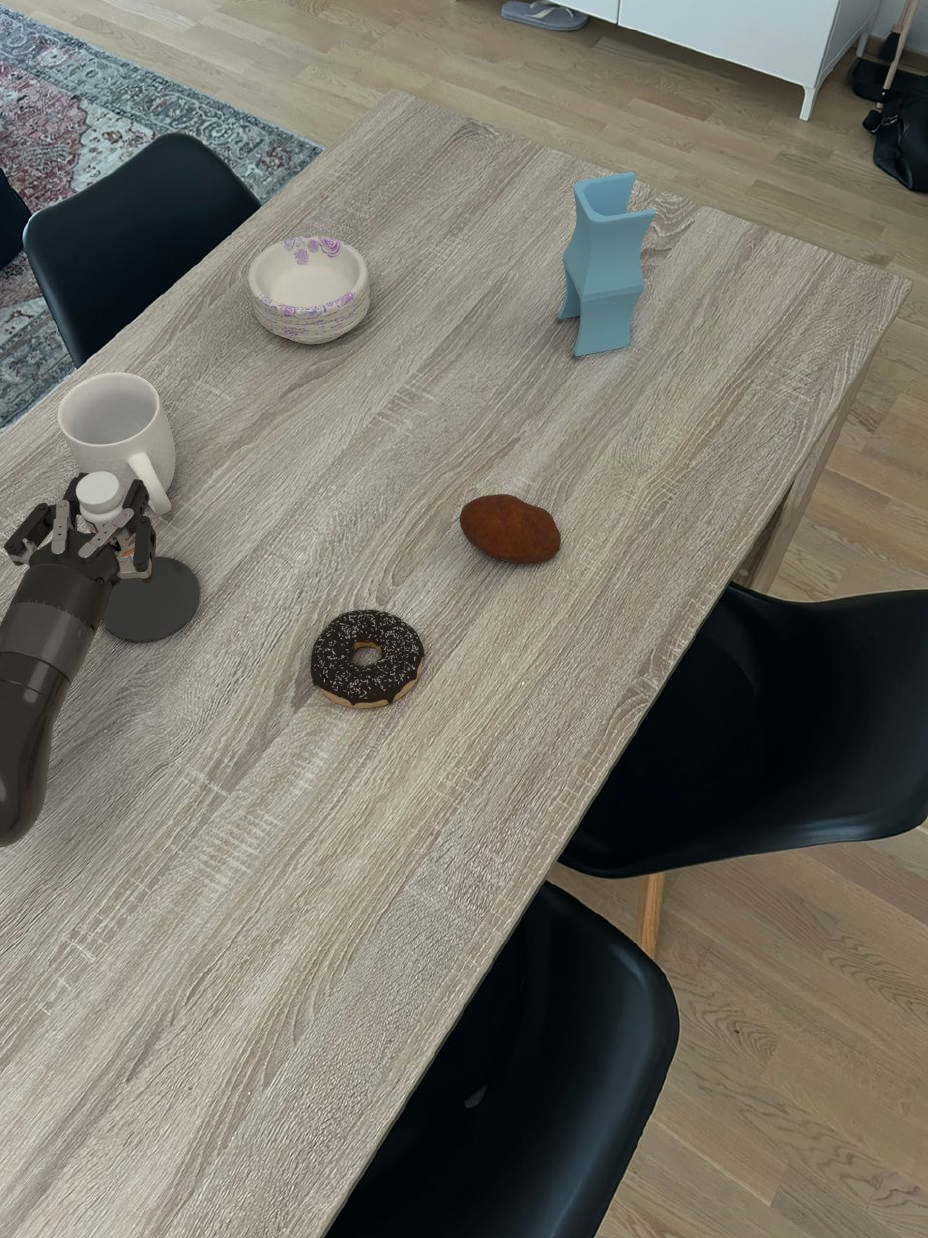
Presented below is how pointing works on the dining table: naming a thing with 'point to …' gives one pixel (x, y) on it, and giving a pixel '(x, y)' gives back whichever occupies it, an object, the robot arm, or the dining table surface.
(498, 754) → the dining table surface
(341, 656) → the donut
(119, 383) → the mug
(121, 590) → the coaster
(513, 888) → the dining table surface
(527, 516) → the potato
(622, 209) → the vase
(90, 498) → the pill bottle
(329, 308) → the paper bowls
